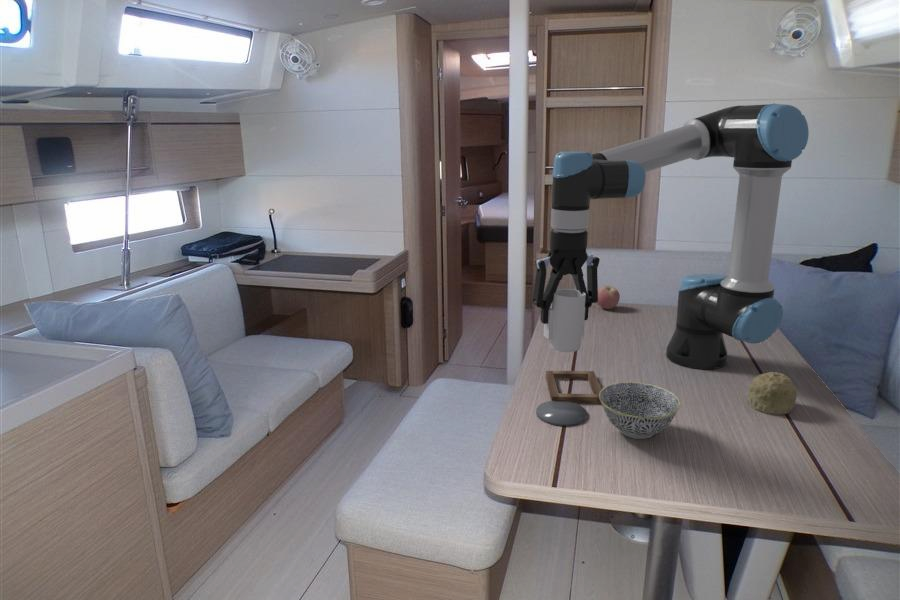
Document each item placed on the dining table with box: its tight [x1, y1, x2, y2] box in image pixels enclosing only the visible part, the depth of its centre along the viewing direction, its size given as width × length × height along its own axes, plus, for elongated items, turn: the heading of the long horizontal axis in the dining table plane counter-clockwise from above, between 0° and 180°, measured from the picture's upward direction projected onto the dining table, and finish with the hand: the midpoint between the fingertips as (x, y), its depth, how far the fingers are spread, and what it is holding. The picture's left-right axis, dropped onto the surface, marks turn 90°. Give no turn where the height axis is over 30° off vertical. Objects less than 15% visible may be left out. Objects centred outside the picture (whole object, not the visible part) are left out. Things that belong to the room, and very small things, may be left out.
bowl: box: [599, 381, 682, 440], centre depth 123 cm, size 16×16×8 cm
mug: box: [550, 288, 586, 353], centre depth 128 cm, size 10×7×12 cm, turn 173°
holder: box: [544, 370, 603, 404], centre depth 144 cm, size 12×15×2 cm
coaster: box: [535, 400, 588, 427], centre depth 132 cm, size 11×11×1 cm
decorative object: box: [746, 371, 798, 416], centre depth 133 cm, size 9×10×10 cm
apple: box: [596, 285, 620, 310], centre depth 204 cm, size 8×8×8 cm
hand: (563, 335), depth 128 cm, fingers closed on mug, 7 cm apart
